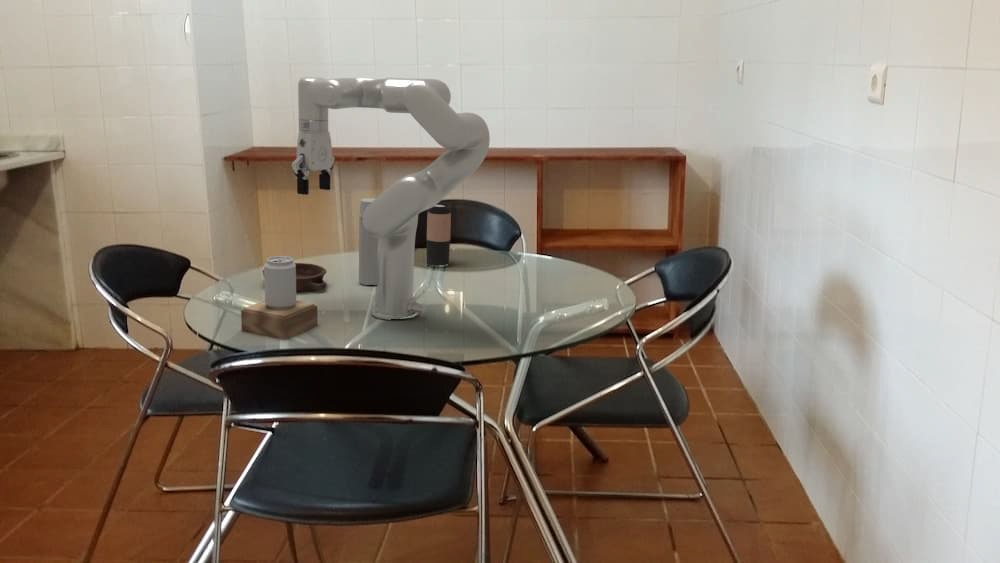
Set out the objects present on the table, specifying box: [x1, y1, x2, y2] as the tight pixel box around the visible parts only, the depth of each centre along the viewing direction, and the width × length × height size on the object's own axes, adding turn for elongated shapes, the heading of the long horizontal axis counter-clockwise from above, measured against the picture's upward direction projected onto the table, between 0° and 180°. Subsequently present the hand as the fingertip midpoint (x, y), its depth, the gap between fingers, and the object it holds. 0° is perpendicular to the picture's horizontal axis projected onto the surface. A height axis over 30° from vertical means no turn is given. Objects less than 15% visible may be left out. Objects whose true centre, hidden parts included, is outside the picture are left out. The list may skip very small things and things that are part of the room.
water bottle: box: [358, 197, 379, 286], centre depth 255 cm, size 9×8×25 cm
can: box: [263, 255, 297, 309], centre depth 212 cm, size 8×8×12 cm
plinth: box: [240, 299, 319, 340], centre depth 214 cm, size 13×13×6 cm
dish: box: [262, 262, 327, 292], centre depth 251 cm, size 18×22×5 cm
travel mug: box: [426, 202, 452, 265], centre depth 280 cm, size 8×8×20 cm
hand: (314, 191), depth 229 cm, fingers open, 9 cm apart
